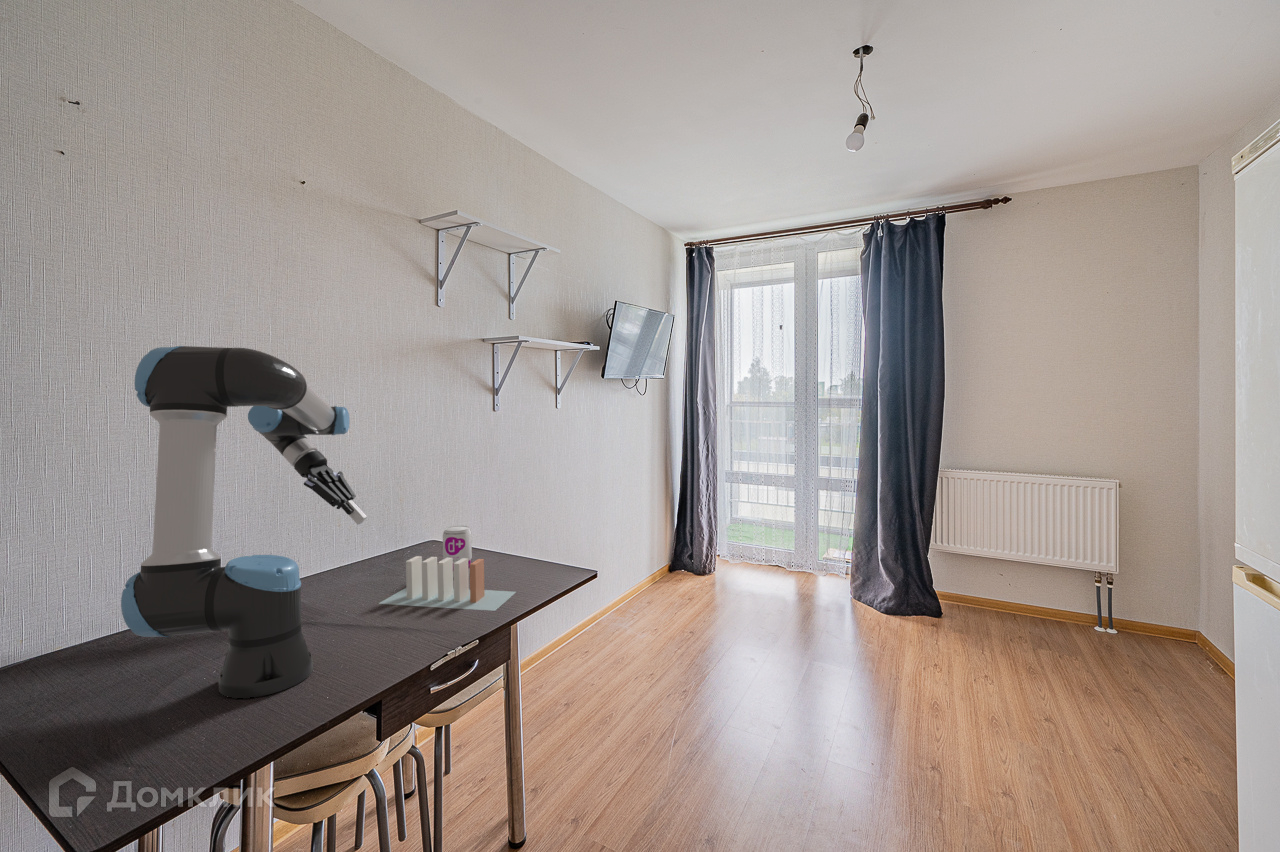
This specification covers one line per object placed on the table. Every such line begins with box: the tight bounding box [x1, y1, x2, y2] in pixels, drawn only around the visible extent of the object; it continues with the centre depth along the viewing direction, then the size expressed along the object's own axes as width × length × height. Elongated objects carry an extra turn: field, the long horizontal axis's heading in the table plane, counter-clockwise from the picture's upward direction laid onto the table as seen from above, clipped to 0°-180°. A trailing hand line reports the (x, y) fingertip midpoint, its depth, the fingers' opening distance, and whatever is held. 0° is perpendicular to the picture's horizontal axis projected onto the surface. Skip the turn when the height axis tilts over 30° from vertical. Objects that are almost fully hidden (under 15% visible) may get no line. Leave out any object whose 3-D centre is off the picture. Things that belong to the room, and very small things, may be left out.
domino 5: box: [469, 558, 485, 603], centre depth 147 cm, size 2×5×10 cm, turn 170°
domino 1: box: [405, 555, 423, 599], centre depth 150 cm, size 2×5×10 cm, turn 171°
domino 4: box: [453, 558, 470, 602], centre depth 148 cm, size 2×5×10 cm, turn 171°
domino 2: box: [422, 556, 438, 600], centre depth 150 cm, size 2×5×10 cm, turn 170°
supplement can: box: [442, 525, 473, 579], centre depth 170 cm, size 8×8×15 cm
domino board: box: [378, 587, 517, 612], centre depth 149 cm, size 14×32×1 cm, turn 80°
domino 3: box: [437, 558, 454, 601], centre depth 149 cm, size 2×5×10 cm, turn 170°
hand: (362, 520), depth 152 cm, fingers closed
